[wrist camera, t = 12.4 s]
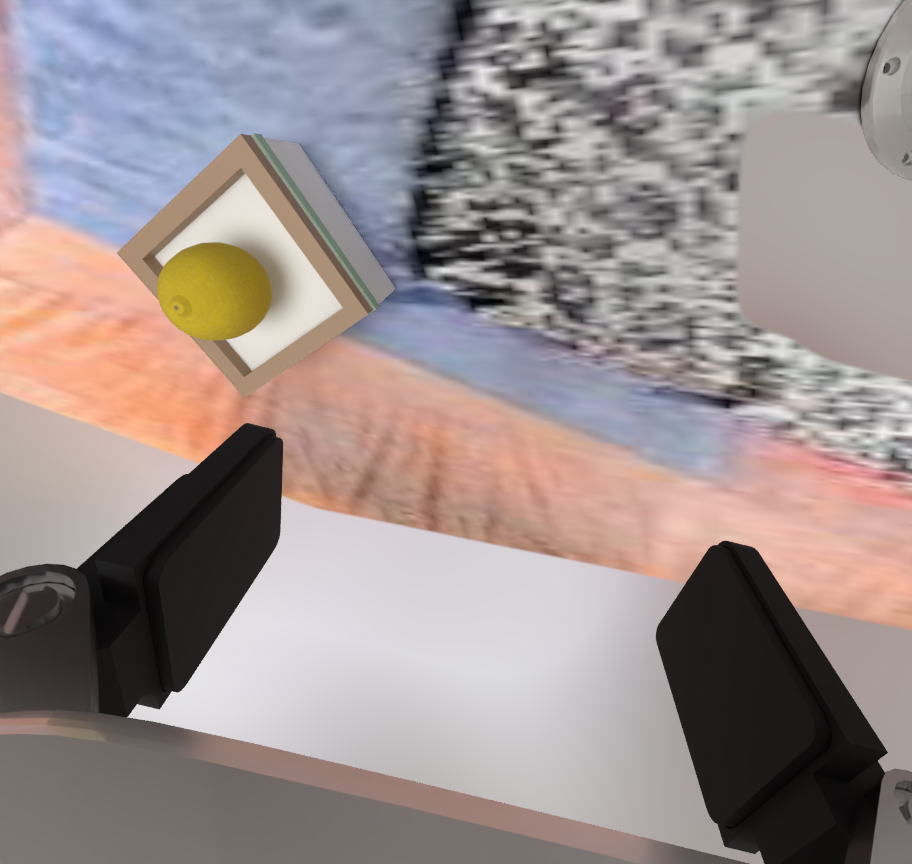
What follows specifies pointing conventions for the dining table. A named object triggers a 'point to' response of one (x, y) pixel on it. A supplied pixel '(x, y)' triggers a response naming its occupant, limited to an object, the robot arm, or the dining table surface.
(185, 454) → the dining table surface
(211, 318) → the lemon
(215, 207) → the stand
